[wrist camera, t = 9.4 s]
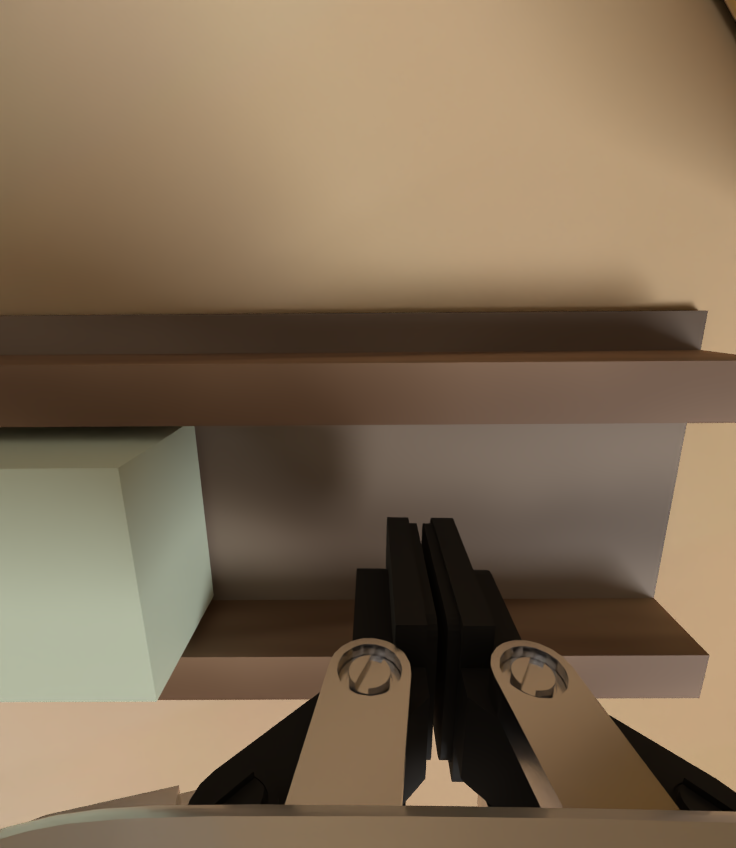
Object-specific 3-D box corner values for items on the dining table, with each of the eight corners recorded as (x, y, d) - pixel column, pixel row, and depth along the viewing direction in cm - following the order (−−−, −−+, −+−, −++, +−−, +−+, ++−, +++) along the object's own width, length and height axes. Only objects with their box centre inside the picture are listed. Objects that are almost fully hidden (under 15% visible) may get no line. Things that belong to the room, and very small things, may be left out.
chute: (-59, 316, 13) (-176, 319, 10) (699, 310, 13) (791, 311, 10) (27, 657, 16) (-43, 729, 13) (636, 655, 16) (692, 727, 13)
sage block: (-44, 421, 13) (-221, 470, 9) (193, 419, 13) (118, 468, 9) (2, 596, 14) (-132, 702, 11) (213, 595, 14) (156, 701, 11)
